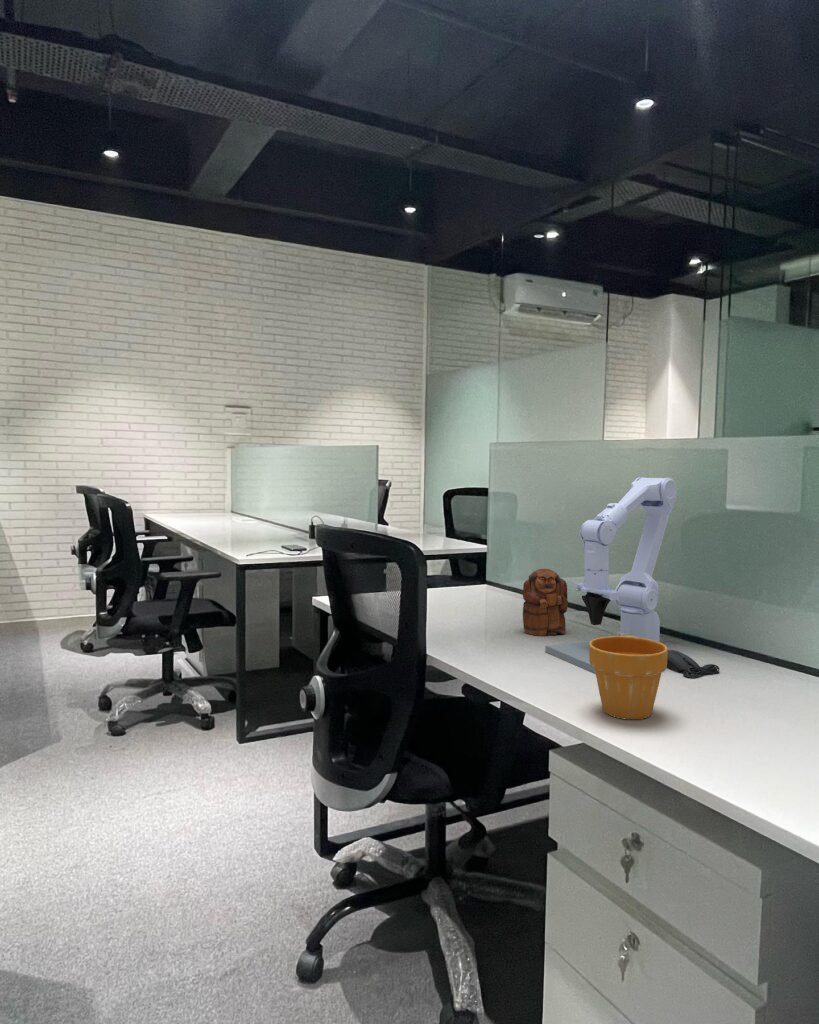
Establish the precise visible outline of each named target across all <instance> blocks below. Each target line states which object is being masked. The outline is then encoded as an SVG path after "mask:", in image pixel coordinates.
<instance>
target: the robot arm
mask: <svg viewBox="0 0 819 1024" xmlns="http://www.w3.org/2000/svg"><path fill="white" fill-rule="evenodd" d="M677 494H678V489H677V485H676V482H675V481H674V479H673V478H672V477H642V476H639V477H637V478H636V479H634V481H632V482H631V484H630V489H629V491H627V493H625V495H624V496H623V497H622V498H621V499H620V500H619V501H618V502H617V503H616V502H613V503H610V502H609V503H608V504H607V505H606V507H605V508H604V509H603V510H602V511H601V512H600V513H598V514H597V515H596V516H595V517H594V518H593V519H587V520H586V521H585V522H583V523H582V524H581V526H580V531H579V533H578V535H579V538H580V541H581V543H582V545H581V546H582V547H581V548H582V549H583V550H584V559H583V560H584V562H583V563H584V571H583V572H584V577H583V578H584V580H583V581H584V582H575V584H574V587H575V588H574V590H575V591H576V592H583V593H586V594H585V595H582V596H581V599H582V601H583V603H584V604H585V607H586V610H587V613H588V618H589V621H590V624H591V625H593V626H599V625H602V623H603V622H602V621H603V618H604V615H605V612H606V609H607V608H608V605H609V604H610V603H611V601H614V603H615V605H616V606H617V607H618V608H617V609H618V611H620V633H619V634H620V635H621V634H633V635H636V637H639V638H645V639H650V640H654V641H657V642H660V635H661V634H660V633H661V632H660V631H661V628H660V627H661V625H660V624H661V621H660V616H659V614H658V613H657V612H656V611H655V608H656V607H657V605H658V602H659V589H660V586H659V585H658V583H657V581H656V580H655V579H654V578H653V574H654V570H655V567H656V563H657V560H658V558H659V557H658V556H659V553H660V549H661V546H662V543H663V538H664V537H665V536H664V535H665V531H666V528H667V525H668V521H669V518H670V514H671V513H672V512H673V509H674V506H675V503H676V498H677ZM638 506H639V508H640V510H641V511H642V512H644V513H645V514H646V519H645V522H644V525H643V530H642V532H641V536H640V539H639V542H638V546H637V548H636V549H637V550H636V553H635V557H634V560H633V564H632V567H631V571H628V572H627V573H625V574H624V575H622V576H621V577H620V580H619V583H618V584H617V585H616V587H615V589H613V588H611V587H609V586H610V585H609V581H610V579H609V577H610V574H609V573H610V572H609V571H610V569H609V567H610V566H609V565H610V563H609V561H610V560H609V559H610V557H609V556H610V551H609V550H610V544H611V543H613V541H614V538H615V536H616V533H617V532H618V530H619V529H620V528H621V527H622V525H624V524H625V523H626V522H628V520H629V513H630V512H632V511H633V510H634V509H636V507H638ZM620 635H619V636H620Z"/></svg>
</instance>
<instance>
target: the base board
mask: <svg viewBox="0 0 819 1024" xmlns="http://www.w3.org/2000/svg"><path fill="white" fill-rule="evenodd" d="M592 640H593V639H589V640H581V641H580V640H579V641H573V642H565V643H556V644H550V645H549V644H547V645H545V647H544V652H545V653H547V654H549V655H552V656H553V657H556V658H558V659H560V660H563V661H565V662H567V663H569V664H573V665H575V666H577V667H579V668H581V669H584V670H587V671H589V672H590V673H593V674H594V675H596V673H595V669H594V667H593V666H592V665H591V664H590V660H589V643H590V641H592Z"/></svg>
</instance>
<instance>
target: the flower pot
mask: <svg viewBox="0 0 819 1024" xmlns="http://www.w3.org/2000/svg"><path fill="white" fill-rule="evenodd" d="M591 640H592V641H590V643H589V660H590V664H591V665H592V666H593V667H594V669H595V673H596V674H595V673H594V674H595V677H596V682H597V687H598V693H599V697H600V702H601V703H600V704H601V707H602V710H603V712H604V713H605V714H606V713H607V714H606V715H608V714H609V715H608V716H610V715H612V716H615V717H619V718H625V719H624V720H626V719H632V720H634V719H640V720H644V719H643V718H645V719H647V717H648V718H649V717H651V716H652V714H653V710H654V705H655V703H656V702H655V701H656V698H657V693H658V689H659V686H660V682H661V676H662V673H663V672H664V671H666V670H667V655H668V650H669V649H668V647H667V646H666V644H665V643H663V642H661V641H659V642H657V641H654V640H650V639H645V638H639V637H630V636H620V635H609V636H607V635H606V636H601V637H596V638H594V639H591ZM612 716H611V717H612ZM615 717H614V718H615ZM619 718H618V719H619Z"/></svg>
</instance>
